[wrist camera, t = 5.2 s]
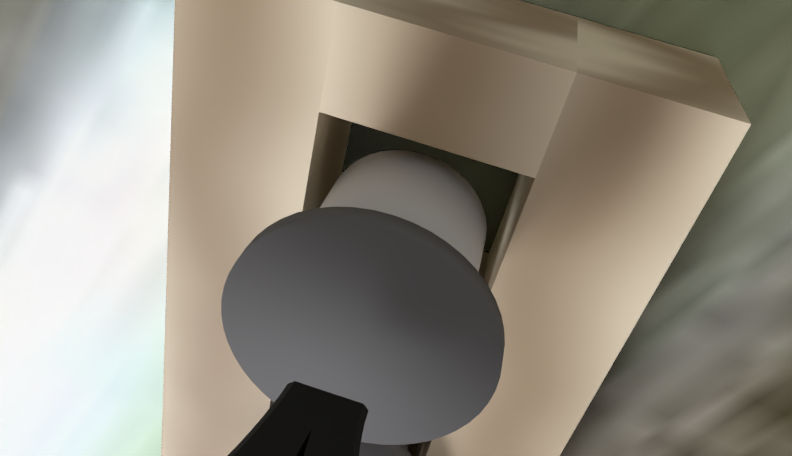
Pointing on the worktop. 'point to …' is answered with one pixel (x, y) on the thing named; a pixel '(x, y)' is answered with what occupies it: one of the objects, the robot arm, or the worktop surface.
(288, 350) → the knob front
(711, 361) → the worktop surface
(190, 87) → the knob mount
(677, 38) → the worktop surface
